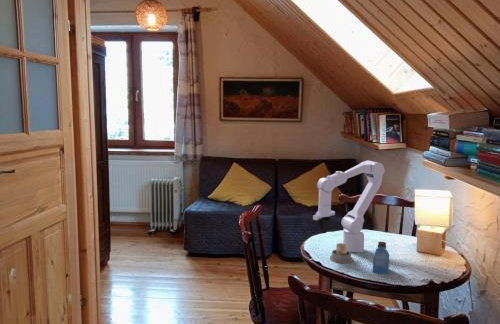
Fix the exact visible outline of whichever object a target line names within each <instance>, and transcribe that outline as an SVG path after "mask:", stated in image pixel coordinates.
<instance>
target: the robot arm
mask: <svg viewBox="0 0 500 324" xmlns="http://www.w3.org/2000/svg"><path fill="white" fill-rule="evenodd" d="M385 172H386V171H385V166H384V164H382V163H381V162H377V161H373V160H370V159H368V160H367V159H366V160H365V161H362V162H360V163H359V164H357V165H355V166H353V167H351V168H349V169H347V170H345V171H341V170H337V171H335V172H334V173H333V174H331V175H327V176H326V177H322V178H321V177H320V178H319V180H318V182H317V183H316V187H317V189H318V206H317V207H318V209H317V211H316V212H315V213H314V215H312V220H314V221H317V223H318V227H319V229H320V233H321V234H326V233H327V231H328V228H329V225H330V223H331V221H332V219H333V217H332V216H335V215H336V211H334V210H332V192H333V190H335V188H337V187H338V186H342V185H343V184H346V182H347V181H348V179H349V178H352V177H355V176H358V175H360V174H365V176H366V178H367V181H368V182H367V184H366V185H365V188H364V190H363V191H362V193H361V194H360V196H359V198H358V200H357V202H356V203H355V205H354V207H353V208H352V210H350V211H347V214H345V216H344V217H342V219H341V221H340V223H341V226H342V227H343V235H342V237H343V238H342V239H343V240H342V243H343V244H346V245H347V251H349V252H351V253H365V249H364V248H365V234H364V232H363V231H362V229H363V226H364V222H365V218H364V215H365V213H366V212H367V210H368V208H369V206H370V205H371V203H372V202H373V199H374V197H375V196H376V194H377V193H378V190H380V187H381V185H382V182H383V175H384V174H385Z"/></svg>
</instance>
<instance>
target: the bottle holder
mask: <svg viewBox="0 0 500 324" xmlns="http://www.w3.org/2000/svg"><path fill="white" fill-rule="evenodd" d="M329 260H330V261H331V262H334V263H337V264H350V263H352V262H353V260H354V259H353V257H352V252H349V251H347V255H337V254H336V249H333V250H331V255H330V256H329Z"/></svg>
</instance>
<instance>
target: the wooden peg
mask: <svg viewBox="0 0 500 324" xmlns="http://www.w3.org/2000/svg"><path fill="white" fill-rule="evenodd" d="M335 247H336V248H335V250H336V254H337V255H347V245H346V244H343V242H342V243H341V242H340V243H336V246H335Z"/></svg>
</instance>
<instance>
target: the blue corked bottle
mask: <svg viewBox="0 0 500 324" xmlns="http://www.w3.org/2000/svg"><path fill="white" fill-rule="evenodd" d="M389 265H390V252H389V251H388V249H387V242H385V241H378V242H377V248H376V249H375V250H374V252H373V260H372V273H376V274H382V275H383V274H384V275H389V273H390V272H389V269H390V268H389V267H390V266H389Z"/></svg>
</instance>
